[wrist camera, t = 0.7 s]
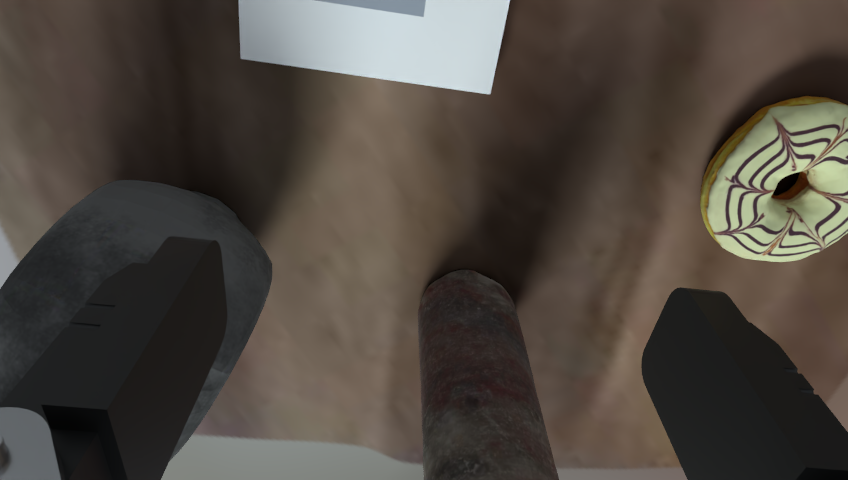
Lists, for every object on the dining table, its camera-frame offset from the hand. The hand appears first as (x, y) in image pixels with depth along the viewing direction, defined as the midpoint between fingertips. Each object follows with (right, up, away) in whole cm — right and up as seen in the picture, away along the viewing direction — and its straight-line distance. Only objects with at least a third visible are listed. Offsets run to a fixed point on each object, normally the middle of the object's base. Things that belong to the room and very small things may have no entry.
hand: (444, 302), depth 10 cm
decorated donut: (+23, +6, +26) cm, 35 cm away
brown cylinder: (+3, -4, +32) cm, 32 cm away
